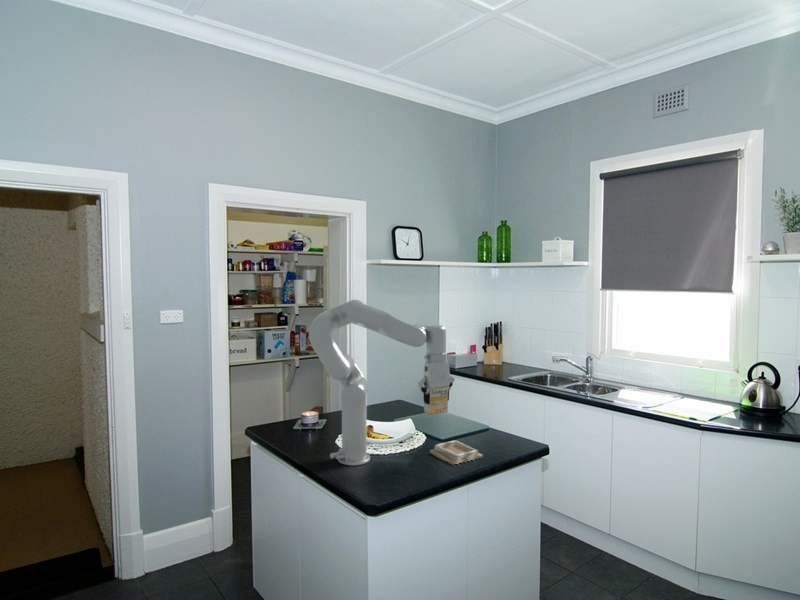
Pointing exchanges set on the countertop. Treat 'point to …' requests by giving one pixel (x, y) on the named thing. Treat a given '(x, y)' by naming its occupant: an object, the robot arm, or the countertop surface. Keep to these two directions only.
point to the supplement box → (437, 401)
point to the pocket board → (455, 452)
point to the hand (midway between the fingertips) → (436, 401)
